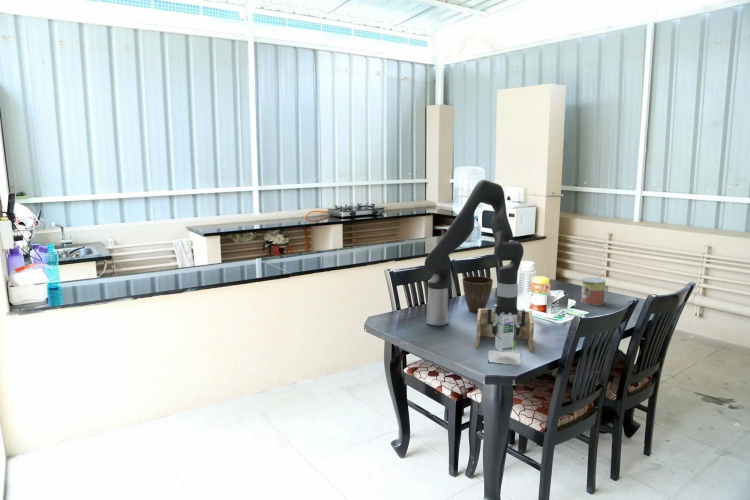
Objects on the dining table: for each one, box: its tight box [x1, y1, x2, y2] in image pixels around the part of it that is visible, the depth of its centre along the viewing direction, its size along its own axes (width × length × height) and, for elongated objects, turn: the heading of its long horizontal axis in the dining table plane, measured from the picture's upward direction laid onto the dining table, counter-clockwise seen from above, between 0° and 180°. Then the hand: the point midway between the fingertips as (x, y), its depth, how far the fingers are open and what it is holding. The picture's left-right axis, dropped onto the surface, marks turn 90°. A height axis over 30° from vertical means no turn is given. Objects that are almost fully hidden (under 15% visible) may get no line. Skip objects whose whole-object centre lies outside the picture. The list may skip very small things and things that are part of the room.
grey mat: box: [487, 350, 522, 367], centre depth 201 cm, size 12×12×1 cm
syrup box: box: [494, 313, 516, 352], centre depth 200 cm, size 6×6×14 cm
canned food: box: [580, 277, 606, 306], centre depth 276 cm, size 11×11×12 cm
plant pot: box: [461, 275, 494, 313], centre depth 262 cm, size 15×15×16 cm
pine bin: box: [475, 308, 535, 353], centre depth 216 cm, size 22×16×12 cm
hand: (505, 335), depth 200 cm, fingers closed on syrup box, 7 cm apart
